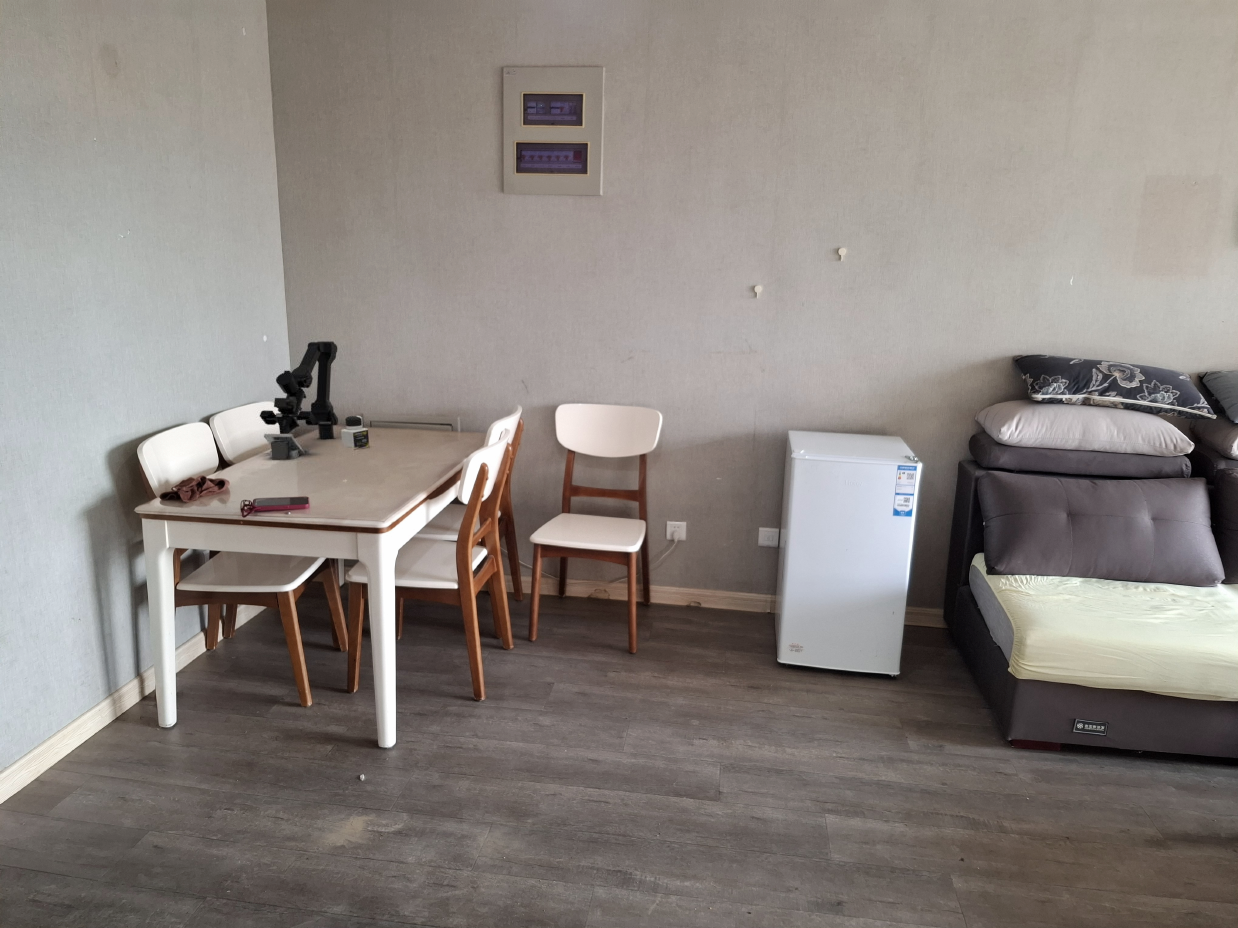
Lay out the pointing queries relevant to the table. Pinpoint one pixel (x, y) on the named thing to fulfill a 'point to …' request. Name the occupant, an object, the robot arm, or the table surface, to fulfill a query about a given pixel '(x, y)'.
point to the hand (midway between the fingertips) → (281, 437)
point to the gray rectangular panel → (285, 437)
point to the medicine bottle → (355, 433)
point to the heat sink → (283, 451)
